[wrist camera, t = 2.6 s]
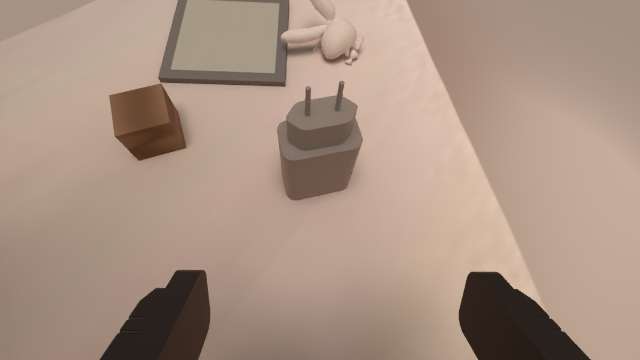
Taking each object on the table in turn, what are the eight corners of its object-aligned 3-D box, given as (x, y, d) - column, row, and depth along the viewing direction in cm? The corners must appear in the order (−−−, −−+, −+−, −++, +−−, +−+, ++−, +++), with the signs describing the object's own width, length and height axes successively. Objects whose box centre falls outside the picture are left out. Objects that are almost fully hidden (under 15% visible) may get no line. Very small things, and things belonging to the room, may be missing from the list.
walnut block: (139, 161, 28) (114, 136, 24) (133, 124, 29) (109, 95, 25) (186, 148, 28) (169, 122, 25) (178, 112, 30) (161, 83, 26)
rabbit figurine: (346, 82, 32) (277, 34, 30) (336, 80, 36) (274, 38, 33) (379, 28, 31) (311, -27, 29) (365, 32, 35) (304, -16, 32)
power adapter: (281, 169, 28) (268, 70, 17) (340, 157, 29) (365, 55, 18) (288, 201, 27) (280, 117, 16) (350, 188, 28) (383, 99, 17)
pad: (160, 82, 31) (157, 77, 30) (181, -2, 36) (179, -8, 35) (285, 86, 32) (284, 81, 31) (288, 3, 36) (288, -3, 36)
